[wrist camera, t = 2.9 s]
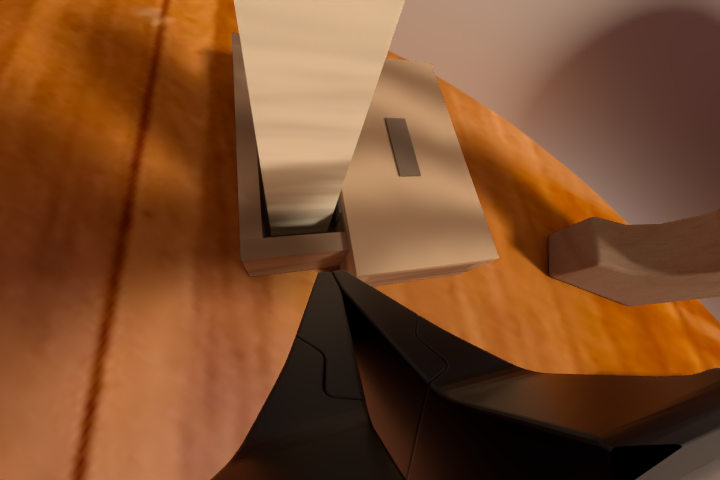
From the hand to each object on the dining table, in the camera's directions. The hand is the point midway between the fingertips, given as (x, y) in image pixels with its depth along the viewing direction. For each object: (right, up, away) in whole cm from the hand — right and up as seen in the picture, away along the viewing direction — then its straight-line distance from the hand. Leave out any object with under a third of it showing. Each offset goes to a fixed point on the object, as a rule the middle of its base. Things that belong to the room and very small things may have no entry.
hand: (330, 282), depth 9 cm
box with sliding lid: (0, +7, +14) cm, 16 cm away
